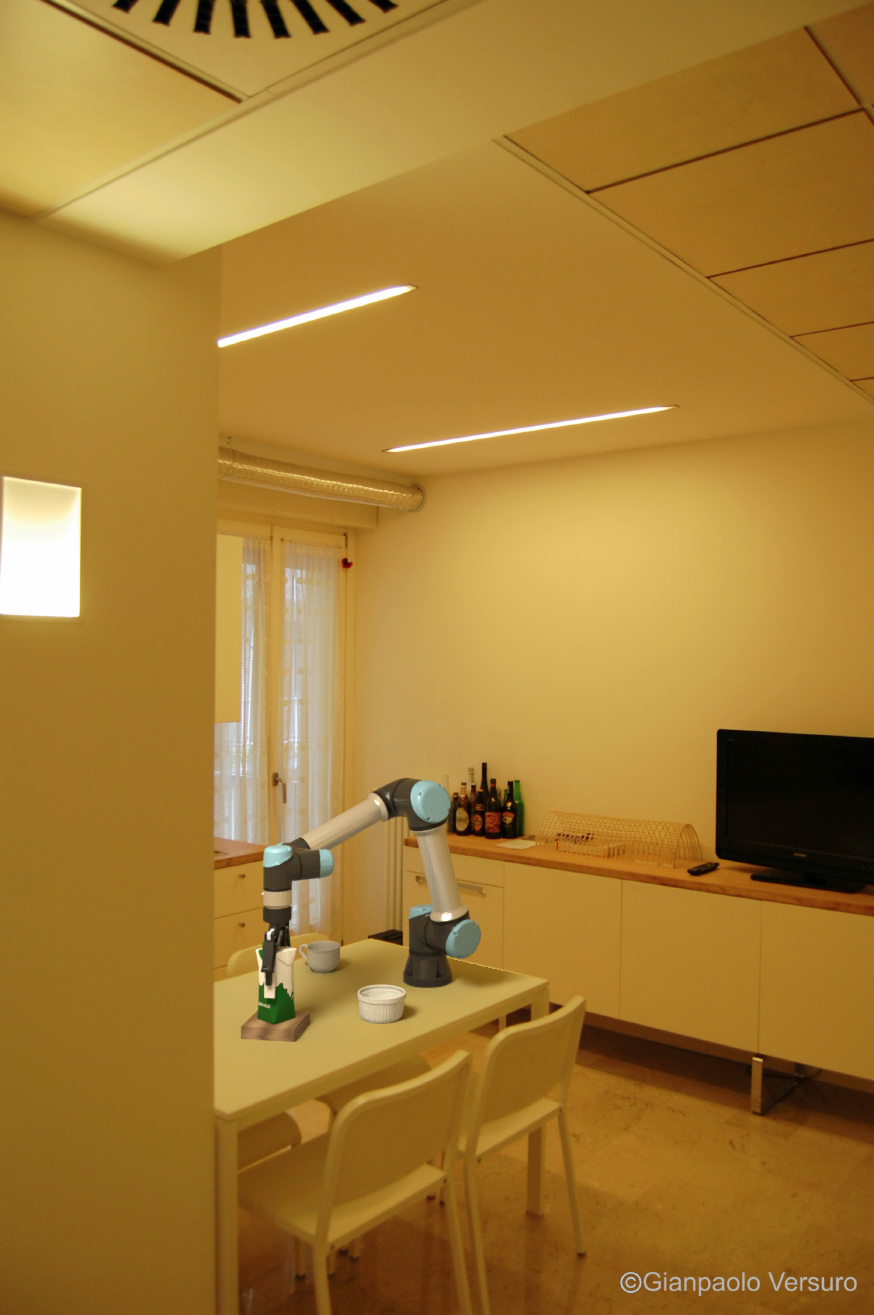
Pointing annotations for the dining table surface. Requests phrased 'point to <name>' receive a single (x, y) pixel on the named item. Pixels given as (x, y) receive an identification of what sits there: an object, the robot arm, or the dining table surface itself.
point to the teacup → (322, 955)
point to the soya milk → (278, 987)
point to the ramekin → (381, 1003)
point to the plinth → (275, 1028)
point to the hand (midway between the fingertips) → (276, 991)
